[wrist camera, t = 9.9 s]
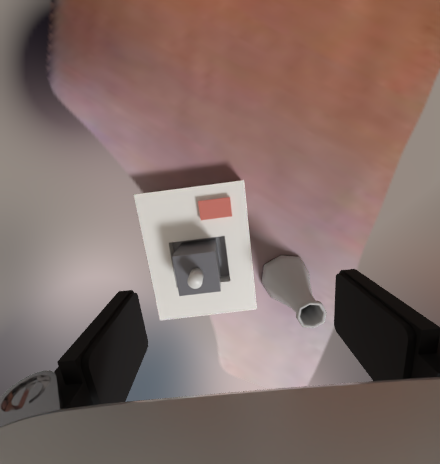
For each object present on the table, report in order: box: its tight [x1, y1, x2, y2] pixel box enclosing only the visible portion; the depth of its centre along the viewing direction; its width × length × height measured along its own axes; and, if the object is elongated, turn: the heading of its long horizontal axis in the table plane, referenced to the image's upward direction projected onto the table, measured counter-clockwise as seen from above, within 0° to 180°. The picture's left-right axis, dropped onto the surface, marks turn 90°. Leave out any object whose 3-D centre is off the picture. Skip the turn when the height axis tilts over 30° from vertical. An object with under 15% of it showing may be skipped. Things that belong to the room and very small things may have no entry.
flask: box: [262, 255, 327, 328], centre depth 28 cm, size 7×7×10 cm
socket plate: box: [134, 180, 257, 320], centre depth 30 cm, size 18×14×4 cm
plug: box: [172, 239, 221, 296], centre depth 27 cm, size 5×5×8 cm
